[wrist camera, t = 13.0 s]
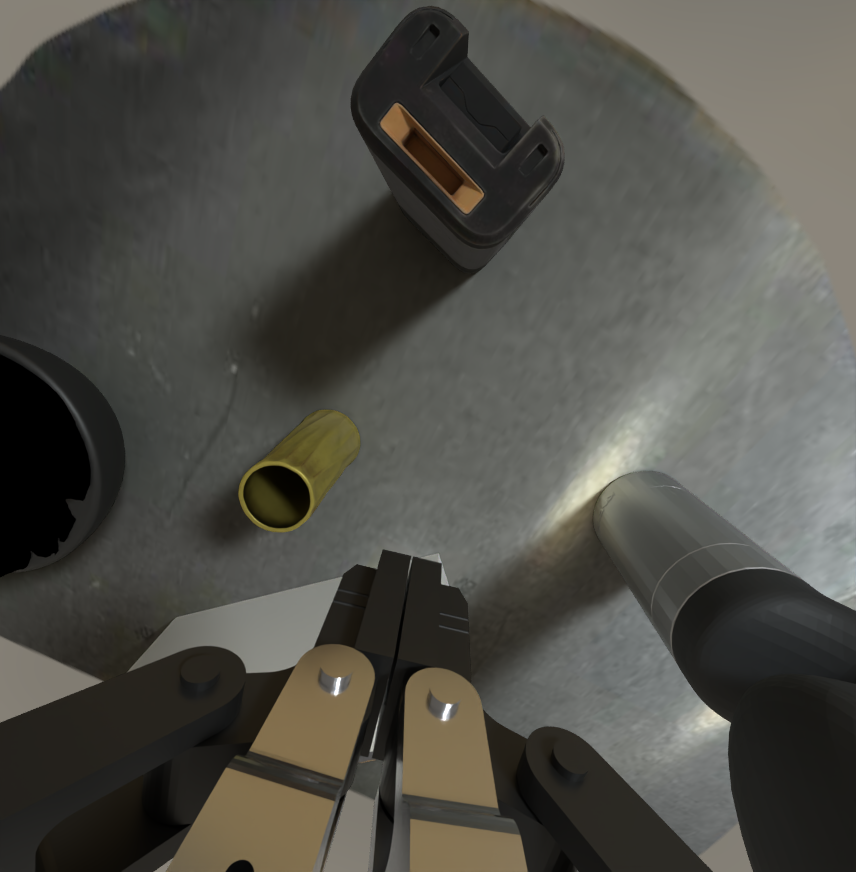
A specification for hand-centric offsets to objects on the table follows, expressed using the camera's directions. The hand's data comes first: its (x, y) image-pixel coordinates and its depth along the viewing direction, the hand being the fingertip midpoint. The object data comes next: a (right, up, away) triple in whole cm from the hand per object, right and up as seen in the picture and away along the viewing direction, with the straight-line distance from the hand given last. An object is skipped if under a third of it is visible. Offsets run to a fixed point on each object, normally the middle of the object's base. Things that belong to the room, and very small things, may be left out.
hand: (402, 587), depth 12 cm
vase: (-9, +3, +34) cm, 35 cm away
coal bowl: (-34, +5, +35) cm, 49 cm away
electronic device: (+3, +22, +28) cm, 36 cm away
